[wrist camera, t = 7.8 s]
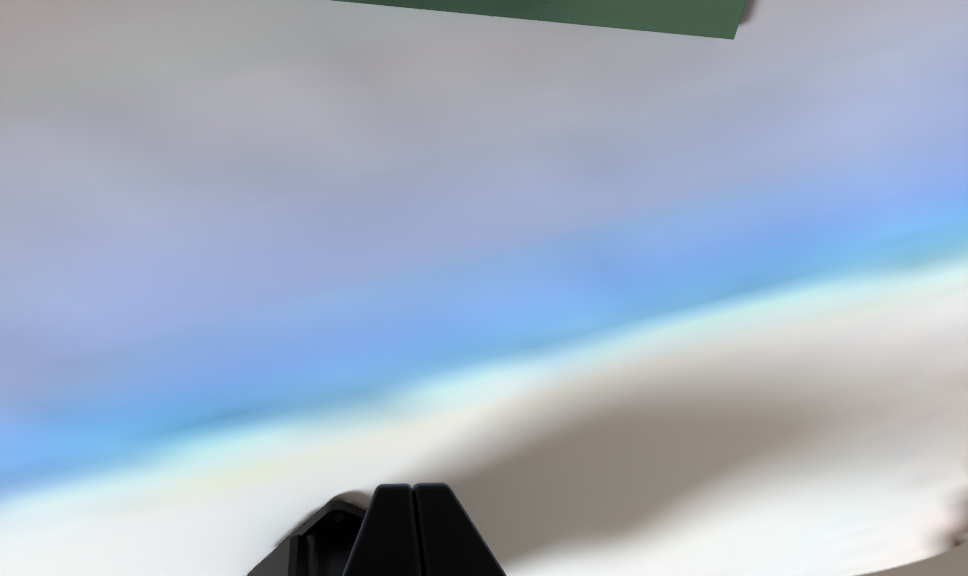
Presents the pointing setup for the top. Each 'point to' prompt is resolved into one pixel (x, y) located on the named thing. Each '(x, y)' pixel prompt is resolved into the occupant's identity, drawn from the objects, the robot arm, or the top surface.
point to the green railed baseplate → (602, 13)
